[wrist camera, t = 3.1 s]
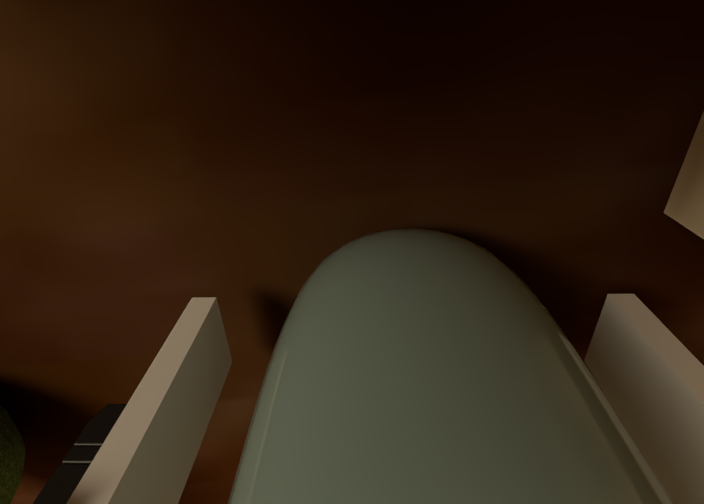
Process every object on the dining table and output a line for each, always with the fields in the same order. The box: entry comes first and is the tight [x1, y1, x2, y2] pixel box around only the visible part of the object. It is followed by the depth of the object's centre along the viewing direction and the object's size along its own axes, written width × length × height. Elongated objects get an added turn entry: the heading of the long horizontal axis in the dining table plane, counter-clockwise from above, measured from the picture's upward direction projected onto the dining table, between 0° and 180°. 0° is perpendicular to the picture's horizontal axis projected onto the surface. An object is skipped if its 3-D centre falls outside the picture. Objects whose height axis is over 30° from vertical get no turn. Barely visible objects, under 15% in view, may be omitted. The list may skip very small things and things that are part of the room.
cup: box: [228, 228, 674, 504], centre depth 10 cm, size 8×8×10 cm
